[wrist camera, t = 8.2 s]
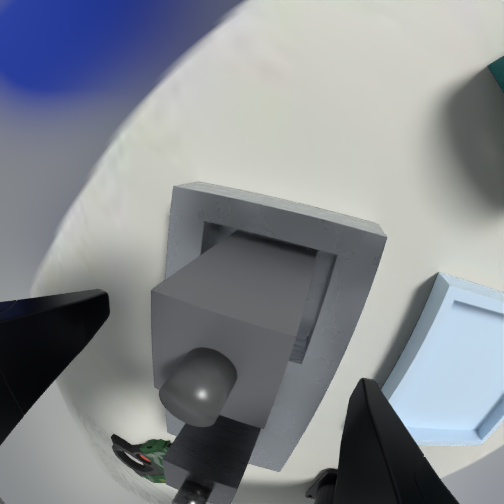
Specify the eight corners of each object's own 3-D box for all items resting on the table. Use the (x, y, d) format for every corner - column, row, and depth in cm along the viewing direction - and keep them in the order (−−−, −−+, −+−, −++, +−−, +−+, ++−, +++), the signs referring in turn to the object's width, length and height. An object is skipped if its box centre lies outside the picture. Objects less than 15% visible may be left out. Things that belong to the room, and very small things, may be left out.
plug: (297, 324, 14) (249, 466, 6) (224, 302, 15) (130, 416, 7) (317, 252, 13) (283, 380, 5) (235, 231, 14) (114, 316, 6)
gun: (149, 426, 21) (225, 483, 22) (157, 416, 22) (230, 473, 23) (99, 441, 28) (153, 485, 28) (104, 435, 29) (157, 478, 29)
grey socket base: (286, 447, 18) (254, 544, 10) (181, 411, 20) (124, 492, 12) (378, 224, 12) (443, 330, 4) (198, 181, 14) (46, 214, 6)
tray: (476, 430, 14) (481, 444, 12) (360, 420, 16) (360, 438, 14) (555, 310, 10) (567, 322, 8) (438, 272, 12) (449, 285, 10)
